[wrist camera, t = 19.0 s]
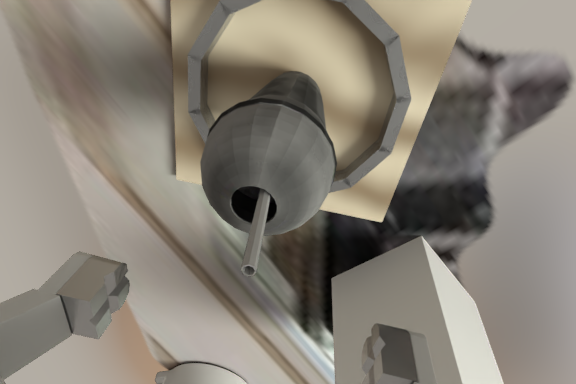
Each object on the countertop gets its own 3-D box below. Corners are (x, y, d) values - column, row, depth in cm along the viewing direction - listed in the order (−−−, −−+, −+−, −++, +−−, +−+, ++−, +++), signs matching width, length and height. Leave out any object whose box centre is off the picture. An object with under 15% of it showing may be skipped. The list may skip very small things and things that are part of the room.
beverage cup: (233, 92, 28) (76, 263, 12) (299, 30, 25) (215, 144, 8) (289, 154, 31) (228, 369, 14) (356, 105, 27) (380, 309, 11)
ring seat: (381, 217, 34) (383, 234, 32) (179, 175, 34) (168, 188, 32) (479, -28, 22) (493, -28, 20) (172, -85, 23) (154, -92, 21)
